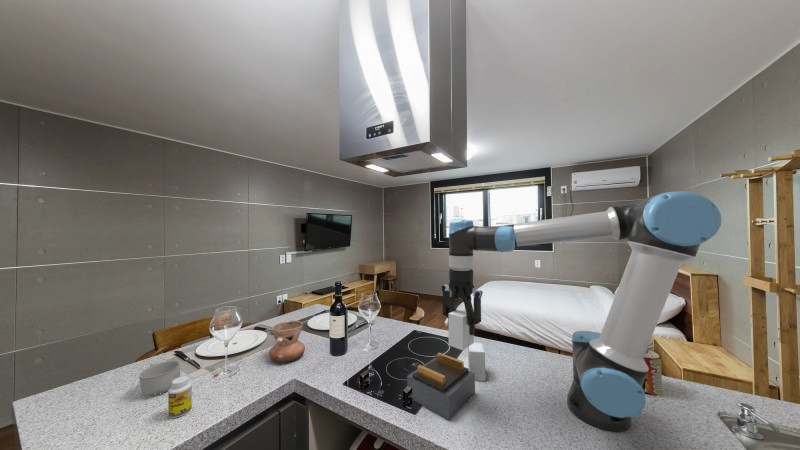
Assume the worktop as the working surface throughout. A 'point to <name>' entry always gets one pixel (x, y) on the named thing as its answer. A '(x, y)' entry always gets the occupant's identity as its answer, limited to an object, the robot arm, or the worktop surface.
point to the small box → (477, 361)
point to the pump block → (458, 329)
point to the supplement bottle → (179, 397)
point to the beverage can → (653, 373)
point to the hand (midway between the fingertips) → (461, 341)
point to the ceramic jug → (287, 341)
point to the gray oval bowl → (159, 377)
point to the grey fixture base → (442, 385)
